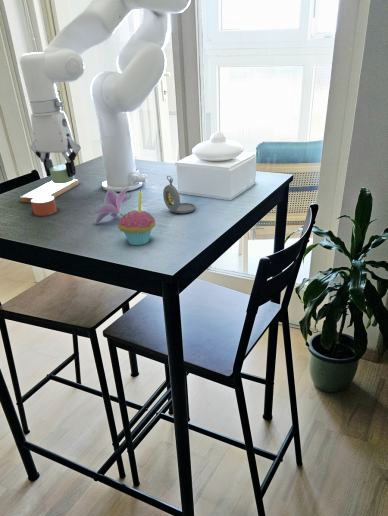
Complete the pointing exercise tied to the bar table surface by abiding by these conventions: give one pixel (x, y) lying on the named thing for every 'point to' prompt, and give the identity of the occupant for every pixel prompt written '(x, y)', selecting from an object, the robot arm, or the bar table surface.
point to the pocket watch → (175, 200)
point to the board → (49, 190)
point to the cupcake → (137, 225)
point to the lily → (112, 204)
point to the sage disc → (60, 174)
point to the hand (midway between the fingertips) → (61, 174)
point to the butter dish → (216, 169)
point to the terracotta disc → (43, 205)
